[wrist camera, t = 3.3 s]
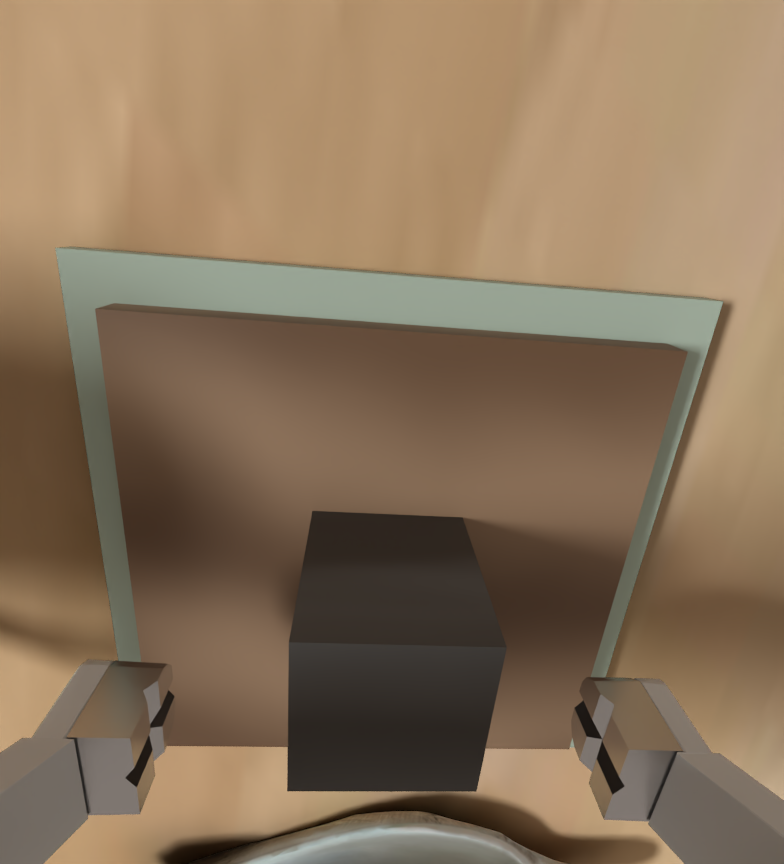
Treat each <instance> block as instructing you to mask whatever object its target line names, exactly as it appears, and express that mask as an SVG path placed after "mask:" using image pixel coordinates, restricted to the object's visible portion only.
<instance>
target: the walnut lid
mask: <svg viewBox="0 0 784 864" xmlns="http://www.w3.org/2000/svg"><path fill="white" fill-rule="evenodd" d="M95 313H96V320H97V328H98V336H99V343H100V351H101V358H102V366H103V374H104V381H105V389H106V397H107V404H108V412H109V420H110V427H111V435H112V442H113V450H114V458H115V465H116V473H117V481H118V488H119V496H120V503H121V511H122V519H123V526H124V534H125V542H126V549H127V557H128V565H129V572H130V580H131V587H132V595H133V603H134V610H135V618H136V626H137V633H138V641H139V648H140V656H141V662H149V663H166V664H170V665H172V673H173V680H172V683H171V685H170V687H169V691H170V692H171V693H172V694H173V695H174V696H175V716H174V722H173V726H172V731H171V735H170V738H169V741H168V744H167V746H252V747H288V788H287V791H476V790H477V786H478V781H479V776H480V771H481V767H482V762H483V757H484V753H485V748H496V749H569V748H570V744H571V741H572V728H571V719H572V715H573V711H574V708H575V707H576V706H577V705H578V704H579V703H581V702H582V701H583V698H582V696H581V694H580V692H579V690H580V687H581V684H582V681H583V680H584V679H585V678H586V677H591V674H592V671H593V667H594V664H595V661H596V657H597V654H598V651H599V647H600V644H601V641H602V637H603V634H604V631H605V627H606V624H607V621H608V617H609V614H610V611H611V607H612V604H613V601H614V597H615V594H616V591H617V587H618V584H619V581H620V577H621V574H622V571H623V567H624V564H625V560H626V557H627V554H628V550H629V547H630V544H631V540H632V537H633V534H634V530H635V527H636V524H637V520H638V517H639V514H640V510H641V507H642V504H643V500H644V497H645V494H646V490H647V487H648V484H649V480H650V477H651V474H652V470H653V467H654V464H655V460H656V457H657V454H658V450H659V447H660V444H661V440H662V437H663V434H664V430H665V427H666V424H667V420H668V417H669V413H670V410H671V407H672V403H673V400H674V397H675V393H676V390H677V387H678V383H679V380H680V377H681V373H682V370H683V367H684V363H685V360H686V357H687V353H688V351H685V350H682V349H680V348H677V347H675V346H672V345H670V344H666V343H653V342H639V341H625V340H612V339H598V338H584V337H571V336H557V335H543V334H530V333H516V332H502V331H489V330H475V329H461V328H447V327H434V326H420V325H406V324H393V323H379V322H365V321H352V320H338V319H324V318H311V317H297V316H283V315H270V314H256V313H242V312H229V311H215V310H201V309H188V308H174V307H160V306H147V305H133V304H119V303H113V304H109V305H106V306H103V307H100V308H96V309H95Z"/></svg>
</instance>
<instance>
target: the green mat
mask: <svg viewBox="0 0 784 864" xmlns="http://www.w3.org/2000/svg"><path fill="white" fill-rule="evenodd" d="M56 255H57V262H58V268H59V275H60V281H61V288H62V294H63V301H64V307H65V314H66V321H67V327H68V334H69V340H70V347H71V353H72V360H73V366H74V373H75V380H76V386H77V393H78V399H79V406H80V412H81V419H82V425H83V432H84V439H85V445H86V452H87V458H88V465H89V471H90V478H91V484H92V491H93V498H94V504H95V511H96V517H97V524H98V530H99V537H100V543H101V550H102V557H103V563H104V570H105V576H106V583H107V589H108V596H109V602H110V609H111V616H112V622H113V629H114V635H115V642H116V648H117V655H118V661H132V662H141V656H140V648H139V641H138V633H137V626H136V618H135V610H134V603H133V595H132V587H131V580H130V572H129V565H128V557H127V549H126V542H125V534H124V526H123V519H122V511H121V503H120V496H119V488H118V481H117V473H116V465H115V458H114V450H113V442H112V435H111V427H110V420H109V412H108V404H107V397H106V389H105V381H104V374H103V366H102V358H101V351H100V343H99V336H98V328H97V320H96V313H95V309H96V308H100V307H103V306H106V305H109V304H113V303H119V304H133V305H147V306H160V307H174V308H188V309H201V310H215V311H229V312H242V313H256V314H270V315H283V316H297V317H311V318H324V319H338V320H352V321H365V322H379V323H393V324H406V325H420V326H434V327H447V328H461V329H475V330H489V331H502V332H516V333H530V334H543V335H557V336H571V337H584V338H598V339H612V340H625V341H639V342H653V343H666V344H670V345H672V346H675V347H677V348H680V349H682V350H685V351H688V353H687V357H686V360H685V363H684V367H683V370H682V373H681V377H680V380H679V383H678V387H677V390H676V393H675V397H674V400H673V403H672V407H671V410H670V413H669V417H668V420H667V424H666V427H665V430H664V434H663V437H662V440H661V444H660V447H659V450H658V454H657V457H656V460H655V464H654V467H653V470H652V474H651V477H650V480H649V484H648V487H647V490H646V494H645V497H644V500H643V504H642V507H641V510H640V514H639V517H638V520H637V524H636V527H635V530H634V534H633V537H632V540H631V544H630V547H629V550H628V554H627V557H626V560H625V564H624V567H623V571H622V574H621V577H620V581H619V584H618V587H617V591H616V594H615V597H614V601H613V604H612V607H611V611H610V614H609V617H608V621H607V624H606V627H605V631H604V634H603V637H602V641H601V644H600V647H599V651H598V654H597V657H596V661H595V664H594V667H593V671H592V674H591V677H606V674H607V671H608V668H609V664H610V661H611V658H612V655H613V652H614V649H615V645H616V642H617V639H618V636H619V633H620V629H621V626H622V623H623V620H624V617H625V613H626V610H627V607H628V604H629V601H630V598H631V594H632V591H633V588H634V585H635V582H636V578H637V575H638V572H639V569H640V566H641V562H642V559H643V556H644V553H645V550H646V547H647V543H648V540H649V537H650V534H651V531H652V527H653V524H654V521H655V518H656V515H657V511H658V508H659V505H660V502H661V499H662V496H663V492H664V489H665V486H666V483H667V480H668V476H669V473H670V470H671V467H672V464H673V460H674V457H675V454H676V451H677V448H678V445H679V441H680V438H681V435H682V432H683V429H684V425H685V422H686V419H687V416H688V413H689V409H690V406H691V403H692V400H693V397H694V393H695V390H696V387H697V384H698V381H699V378H700V374H701V371H702V368H703V365H704V362H705V358H706V355H707V352H708V349H709V346H710V342H711V339H712V336H713V333H714V330H715V327H716V323H717V320H718V317H719V314H720V311H721V307H722V304H723V301H718V300H713V299H708V298H700V297H687V296H675V295H662V294H650V293H638V292H625V291H613V290H601V289H588V288H576V287H564V286H551V285H539V284H526V283H514V282H502V281H489V280H477V279H465V278H452V277H440V276H428V275H415V274H403V273H390V272H378V271H366V270H353V269H341V268H329V267H316V266H304V265H292V264H279V263H267V262H254V261H242V260H230V259H217V258H205V257H193V256H180V255H168V254H156V253H143V252H131V251H118V250H106V249H94V248H81V247H60V248H56ZM570 747H574V743H573V738H572V741H571V744H570Z"/></svg>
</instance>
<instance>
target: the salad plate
mask: <svg viewBox="0 0 784 864" xmlns="http://www.w3.org/2000/svg"><path fill="white" fill-rule="evenodd" d="M188 864H568V863H564V862H560V861H556V860H553V859H550V858H548V857H546V856H544V855H541V854H539V853H537V852H534V851H531V850H529V849H527V848H525V847H524V846H522V845H520V844H518V843H516V842H514V841H513V840H511V839H510V838H508V837H507V836H505V835H504V834H502V833H500V832H497V831H494V830H490V829H487V828H484V827H480V826H477V825H473V824H469V823H465V822H461V821H457V820H453V819H450V818H446V817H443V816H439V815H436V814H433V813H428V812H421V811H388V812H373V813H365V814H357V815H352V816H349V817H346V818H343V819H340V820H337V821H333V822H330V823H326V824H323V825H320V826H316V827H313V828H309V829H305V830H301V831H298V832H294V833H291V834H287V835H283V836H279V837H275V838H271V839H268V840H264V841H260V842H255V843H250V844H246V845H243V846H239V847H236V848H233V849H229V850H226V851H223V852H220V853H216V854H213V855H210V856H207V857H204V858H201V859H198V860H195V861H193V862H191V863H188Z"/></svg>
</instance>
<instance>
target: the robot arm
mask: <svg viewBox="0 0 784 864" xmlns="http://www.w3.org/2000/svg"><path fill="white" fill-rule="evenodd" d="M172 680H173V673H172V665H170V664H166V663H149V662H132V661H107V660H90V659H88V660H86V661H85V662H84V663H83V664H81V665H80V666H79V667H78V669H77V670H76V672H75V673H74V675H73V676H72V678H71V679H70V681H69V682H68V684H67V685H66V687H65V688H64V690H63V691H62V693H61V694H60V696H59V697H58V699H57V700H56V702H55V703H54V705H53V706H52V708H51V709H50V711H49V712H48V714H47V715H46V717H45V718H44V720H43V721H42V723H41V724H40V726H39V727H38V729H37V730H36V732H35V733H34V735H33V736H32V737H31V738H21V739H20V740H18V741H17V742H15V743H14V744H13V745H11V746H10V747H8V748H7V749H5V750H4V751H2V752H1V753H0V864H44V863H45V862H46V861H47V860H48V858H49V857H50V856H51V855H52V854H53V853H54V852H55V851H56V850H57V849H58V848H59V847H60V846H61V845H62V844H63V843H64V842H65V841H66V840H67V839H68V838H69V837H70V836H71V835H72V834H73V833H74V832H75V831H76V830H77V829H78V828H79V827H80V826H81V825H82V824H83V823H84V822H85V821H86V820H87V819H88V815H121V814H140V813H141V810H142V807H143V805H144V802H145V800H146V797H147V795H148V792H149V790H150V787H151V785H152V782H153V780H154V777H155V769H154V760H155V759H157V758H158V757H159V756H160V755H161V754H162V753H163V752H165V749H166V746H167V744H168V741H169V738H170V735H171V731H172V726H173V722H174V716H175V696H174V695H173V694H172V693H171V692H170V691H169V687H170V685H171V683H172ZM579 692H580V694H581V696H582V698H583V701H582V702H581V703H579V704H578V705H577V706H576V707H575V708H574V711H573V715H572V719H571V728H572V738H573V743H574V747H575V750H576V752H577V755H578V757H579V760H580V761H581V762H582V763H583V764H584V765H585V766H586V767H587V768H588V769H590V770H591V771H592V773H591V777H590V781H589V785H590V787H591V790H592V792H593V794H594V797H595V799H596V802H597V804H598V806H599V809H600V811H601V814H602V816H603V819H604V820H626V821H649V823H648V825H649V826H650V827H651V828H652V829H653V830H654V831H655V832H656V833H657V834H658V835H659V836H660V838H661V839H662V840H663V841H664V842H665V843H666V844H667V845H668V846H669V847H670V848H671V850H672V851H673V852H674V853H675V854H676V855H677V856H678V857H679V858H680V859H681V860H682V861H683V863H684V864H784V800H782V799H781V798H780V797H778V796H777V795H776V794H774V793H773V792H771V791H770V790H769V789H767V788H766V787H765V786H763V785H762V784H761V783H759V782H758V781H757V780H755V779H754V778H752V777H751V776H750V775H748V774H747V773H746V772H744V771H743V770H742V769H740V768H739V767H738V766H736V765H735V764H733V763H732V762H731V761H729V760H728V759H727V758H725V757H724V756H723V755H721V754H720V753H712V752H711V750H710V749H709V748H708V746H707V745H706V743H705V742H704V740H703V739H702V737H701V736H700V734H699V733H698V731H697V730H696V728H695V727H694V725H693V724H692V722H691V721H690V719H689V718H688V716H687V715H686V713H685V712H684V710H683V709H682V707H681V706H680V705H679V703H678V702H677V700H676V699H675V697H674V696H673V694H672V693H671V691H670V690H669V688H668V687H667V685H666V684H665V683H664V682H663V681H661V680H660V679H646V678H634V679H633V678H607V677H586V678H585V679H584V680H583V681H582V684H581V687H580V690H579Z"/></svg>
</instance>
